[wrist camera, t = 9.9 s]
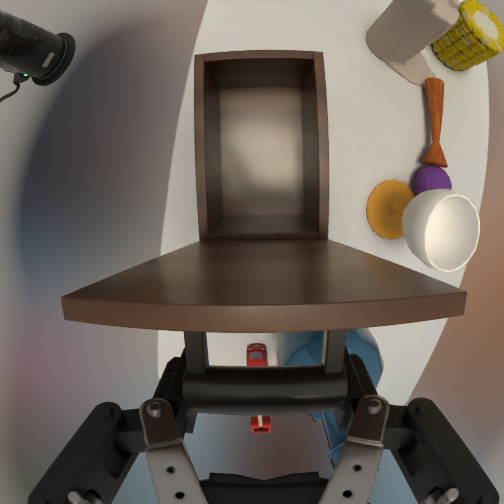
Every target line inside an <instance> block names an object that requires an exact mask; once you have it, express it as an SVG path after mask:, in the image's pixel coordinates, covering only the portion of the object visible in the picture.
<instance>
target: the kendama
mask: <svg viewBox="0 0 504 504" xmlns="http://www.w3.org/2000/svg"><path fill="white" fill-rule="evenodd" d="M425 86H426V91H427V98H428V104H429V112H430V120H431V129H432V140H433V142H432V144H431V146H430V147H429V149H428V151H427V153H426V155H425V157H424V159H423V161H422V163H424V164H427V165H430V166H426V167H424V168H423V169H421V170H420V171H419V172H418V174H417V176H416V178H415V190H416V194H417V195H419V194H420V193H421V192H424V191H427V190H434V189H450V190H451V188H452V185H451V181H450V178H449V176H448V175H447V173H446V172H445V171H444V170H443V169H441V168H440V167H443V168H445V167H448V166H447V163H446V160H445V157H444V154H443V151H442V149H441V146H440V143H439V140H440V132H441V123H442V112H443V98H444V82H443V81H442V80H440V79H438V78H431V77H430V78H426V79H425Z"/></svg>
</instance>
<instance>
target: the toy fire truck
mask: <svg viewBox="0 0 504 504" xmlns="http://www.w3.org/2000/svg"><path fill="white" fill-rule="evenodd" d="M247 366H267V353H266V347H265V346H263V345H251V346H248V347H247ZM251 430H252V433H266V432H271V422H270V416H262V415H258V417H251Z"/></svg>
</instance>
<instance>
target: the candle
mask: <svg viewBox="0 0 504 504" xmlns="http://www.w3.org/2000/svg"><path fill="white" fill-rule="evenodd" d="M459 6H460V3H459V1H458V0H393V1H392V3H391V4H390V5H389V6H388V7H387V8H386V10H385V11H384V12H383V13H382V14H381V16H380V17H379V18H378V19H377V20H376V21H375V23H374V24H373V25H372V26H371V27H370V29H369V30H368V31H367V34H366V41H367V44H368V46H369V48H370V49H371V51H372V52H373V53H374V54H375V55H376V56H378V57H379V58H380V59H382V60H383V61H385V62H386V63H387V64H388V65H389V66H390V67H392V68H393V69H394V70H395V71H396V72H398V73H399V74H400V75H401V76H403V77H404V78H405V79H407V80H408V81H410V82H411V83H413V84H416V85H421V86H422V87H423V88H424V89H426V86H425V79H426V78H430V77H431V78H435V75H434V73H433V72H432V71H431V70H430V69H429V68H428V66H427V63H426V61H425V59H424V57H423V56H422V55H421V54H420V53H419V52H420V51H421V50H423V49H424V48H425V47H427V46H428V45H430V44H431V43H433V42H435V41H436V40H438V39H439V38H441V37H442V36H444V35H445V34H446V33H447V32H448V31H449V30H450V28H451V27H453V26H454V25H455V23H456V22H457V20H458V18H459V12H458V8H459Z"/></svg>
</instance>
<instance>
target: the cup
mask: <svg viewBox="0 0 504 504" xmlns="http://www.w3.org/2000/svg"><path fill="white" fill-rule="evenodd" d="M366 210H367V218H368V222H369V224H370V225H371V227H372V229H373V231H375V232H376V233H377V234H378V235H380V236H381V237H384V238H388V239H394V238H399V237H402V236H403V235H404V238H405V240H406V242H407V245H408V247H409V248H410V250H411V251H412V253H413V254H414V255H415V256H417V257H418V258H419V259H420V260H421V261H422V262H423V263H424V264H425V265H426V266H428V267H429V268H432V269H435V270H438V271H442V272H446V273H449V272H453V271H456V270H459V269H460V268H461V267H462V266H464V265H465V264H466V263H467V262H468V261H469V260H470V258H471V256H472V255H473V253H474V251H475V249H476V247H477V243H478V240H479V236H480V220H479V216H478V213H477V210H476V207H475V206H474V205H473V203H472V202H471V201H470V199H469V198H467V197H465V196H463V195H461V194H459V193H457V192H455V191H452V190H450V189H434V190H427V191H424V192H421V193H420V194H419V195H417V196H416V197H415V196H414V193H413V191H412V190H411V189H410V188H409V187H408V186H407V185H406V184H405V183H402V182H400V181H397V180H390V181H384V182H383V183H381V184H380V185H378V186H376V187H375V189H374V190H373V192H372V193H371V195H370V196H369V199H368V204H367V208H366Z"/></svg>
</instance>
